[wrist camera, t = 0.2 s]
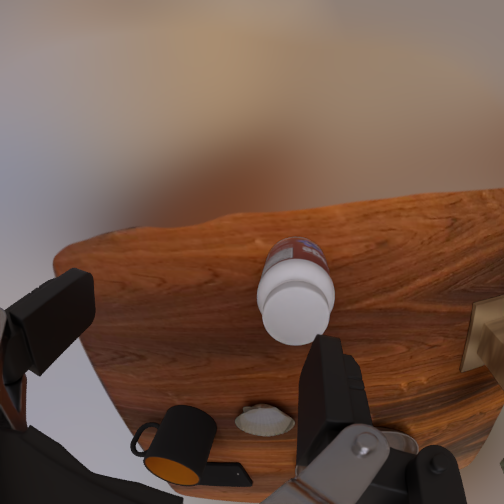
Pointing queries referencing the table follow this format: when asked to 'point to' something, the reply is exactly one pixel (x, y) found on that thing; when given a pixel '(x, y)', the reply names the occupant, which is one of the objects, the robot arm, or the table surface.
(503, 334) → the tray
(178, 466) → the mug
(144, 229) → the table surface
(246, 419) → the seashell
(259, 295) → the pill bottle
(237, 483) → the cell phone
